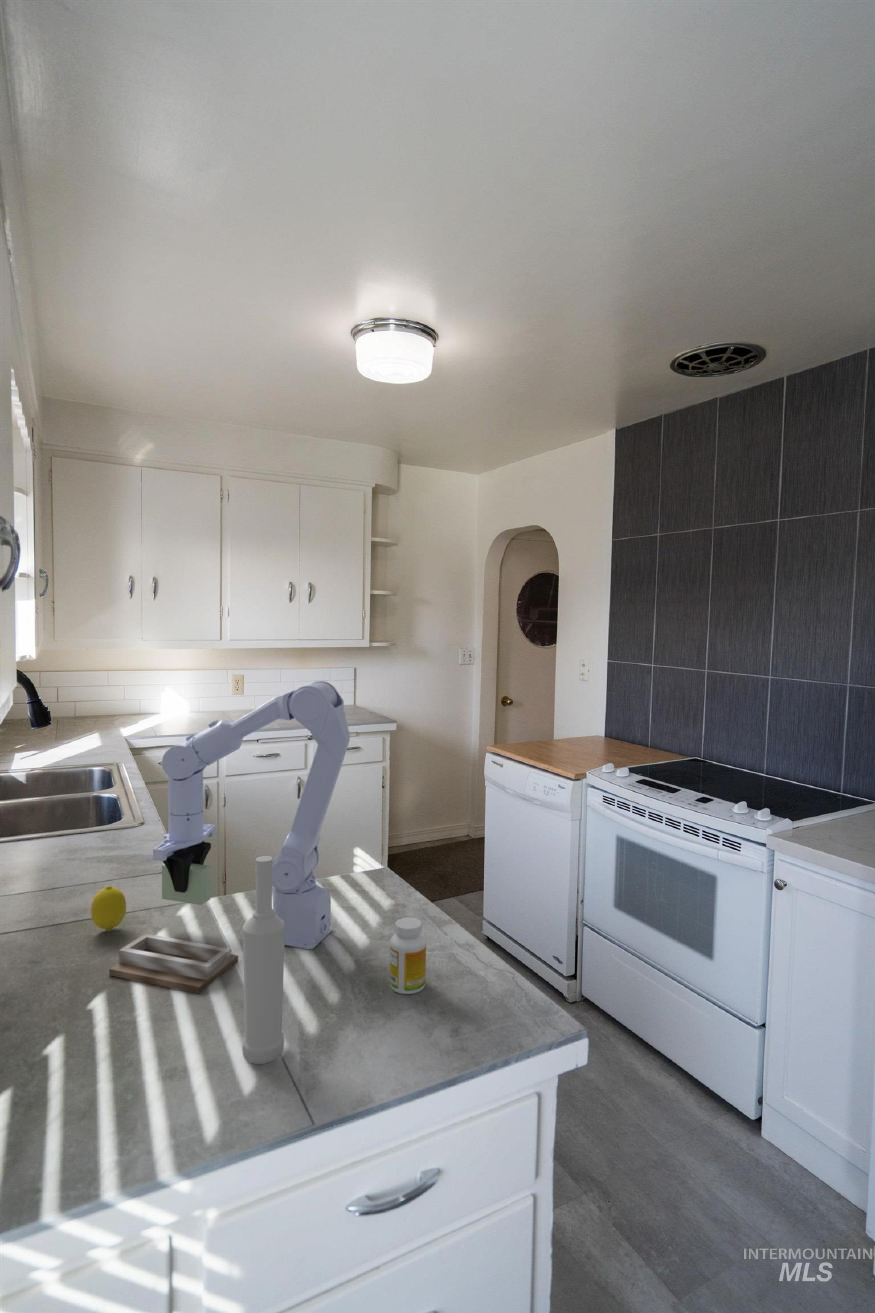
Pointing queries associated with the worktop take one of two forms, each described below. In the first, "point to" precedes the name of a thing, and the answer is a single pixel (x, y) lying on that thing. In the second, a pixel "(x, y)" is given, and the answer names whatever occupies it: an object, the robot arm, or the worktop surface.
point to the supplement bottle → (408, 957)
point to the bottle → (263, 973)
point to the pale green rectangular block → (189, 885)
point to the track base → (173, 962)
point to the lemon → (108, 908)
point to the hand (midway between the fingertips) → (186, 888)
